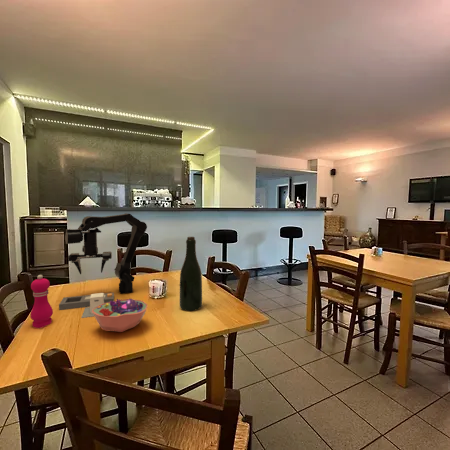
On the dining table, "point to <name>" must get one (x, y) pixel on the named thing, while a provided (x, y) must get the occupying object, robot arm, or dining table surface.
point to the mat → (87, 313)
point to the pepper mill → (41, 303)
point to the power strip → (81, 301)
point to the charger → (96, 300)
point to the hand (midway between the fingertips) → (91, 273)
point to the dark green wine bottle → (190, 279)
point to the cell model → (120, 314)
